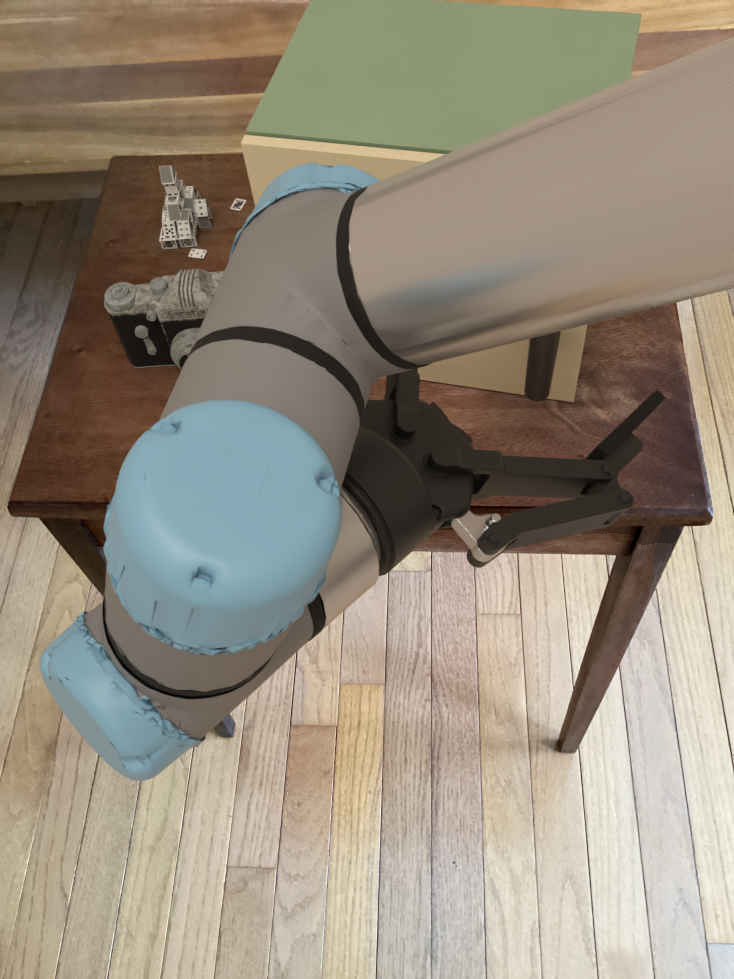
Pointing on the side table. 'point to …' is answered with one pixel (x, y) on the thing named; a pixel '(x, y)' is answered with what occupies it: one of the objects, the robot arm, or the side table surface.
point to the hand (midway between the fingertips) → (568, 331)
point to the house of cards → (184, 213)
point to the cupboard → (437, 70)
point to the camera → (161, 315)
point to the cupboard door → (506, 368)
